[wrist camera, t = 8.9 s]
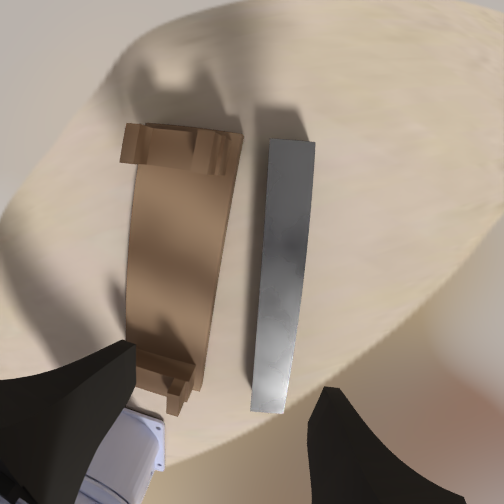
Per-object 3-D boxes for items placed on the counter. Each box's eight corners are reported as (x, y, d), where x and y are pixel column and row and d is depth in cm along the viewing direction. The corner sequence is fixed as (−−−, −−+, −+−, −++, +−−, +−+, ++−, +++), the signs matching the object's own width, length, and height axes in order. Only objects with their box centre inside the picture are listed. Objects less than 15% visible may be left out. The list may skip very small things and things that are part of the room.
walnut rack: (202, 383, 22) (187, 424, 17) (132, 363, 22) (107, 397, 17) (244, 136, 17) (232, 123, 13) (152, 125, 17) (116, 113, 13)
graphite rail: (283, 393, 22) (283, 413, 19) (253, 390, 22) (250, 411, 20) (310, 146, 17) (315, 142, 15) (271, 143, 17) (269, 138, 15)
